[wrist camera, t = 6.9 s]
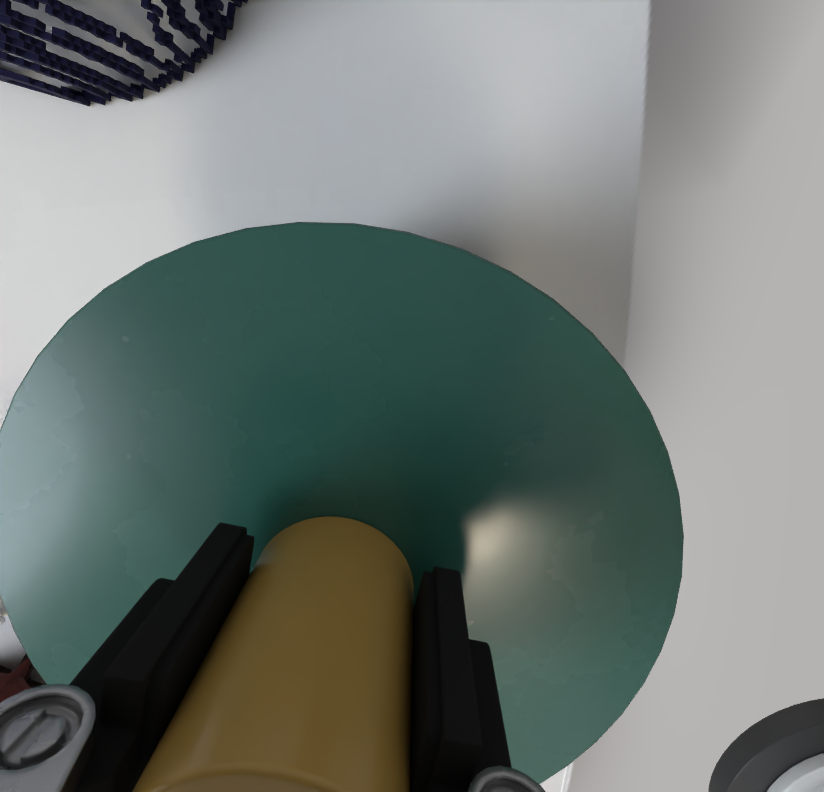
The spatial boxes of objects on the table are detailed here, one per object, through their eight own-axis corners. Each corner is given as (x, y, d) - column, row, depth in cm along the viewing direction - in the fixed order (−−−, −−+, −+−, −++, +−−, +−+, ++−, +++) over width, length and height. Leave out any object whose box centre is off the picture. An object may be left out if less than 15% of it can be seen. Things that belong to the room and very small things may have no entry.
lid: (764, 318, 11) (1311, 410, 4) (551, 829, 15) (653, 1276, 8) (31, 146, 10) (-712, -71, 3) (25, 733, 14) (-315, 1139, 8)
